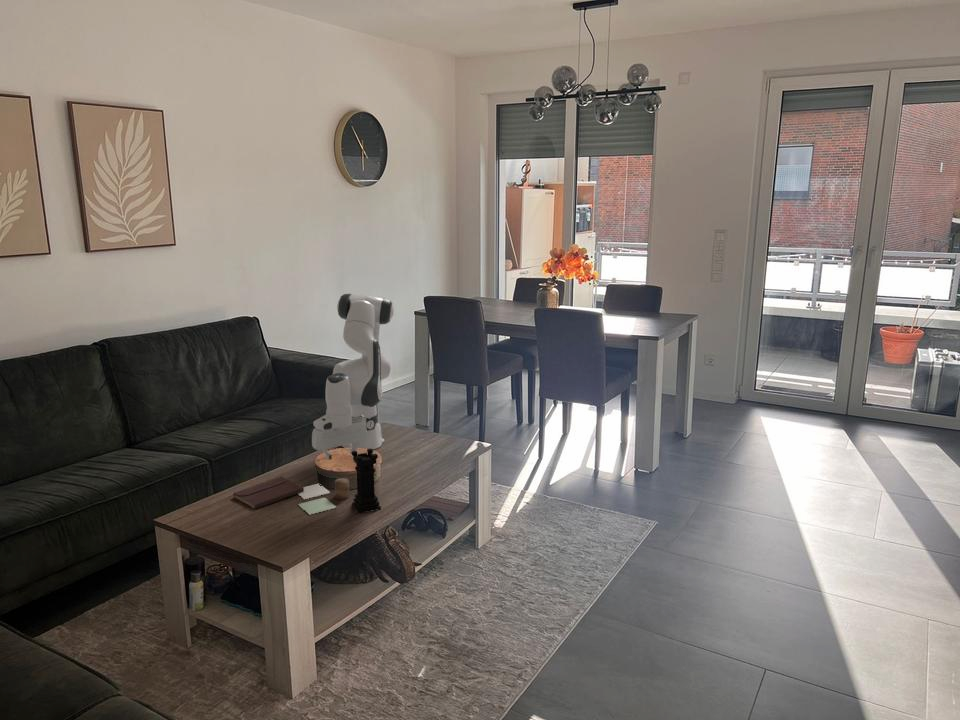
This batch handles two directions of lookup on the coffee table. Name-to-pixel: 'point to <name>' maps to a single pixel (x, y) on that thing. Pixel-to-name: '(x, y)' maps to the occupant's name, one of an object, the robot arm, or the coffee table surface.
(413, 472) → the coffee table surface
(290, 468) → the coffee table surface
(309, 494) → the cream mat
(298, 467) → the coffee table surface
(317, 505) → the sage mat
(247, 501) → the notebook
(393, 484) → the coffee table surface
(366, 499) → the chess piece
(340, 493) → the brown cylinder
